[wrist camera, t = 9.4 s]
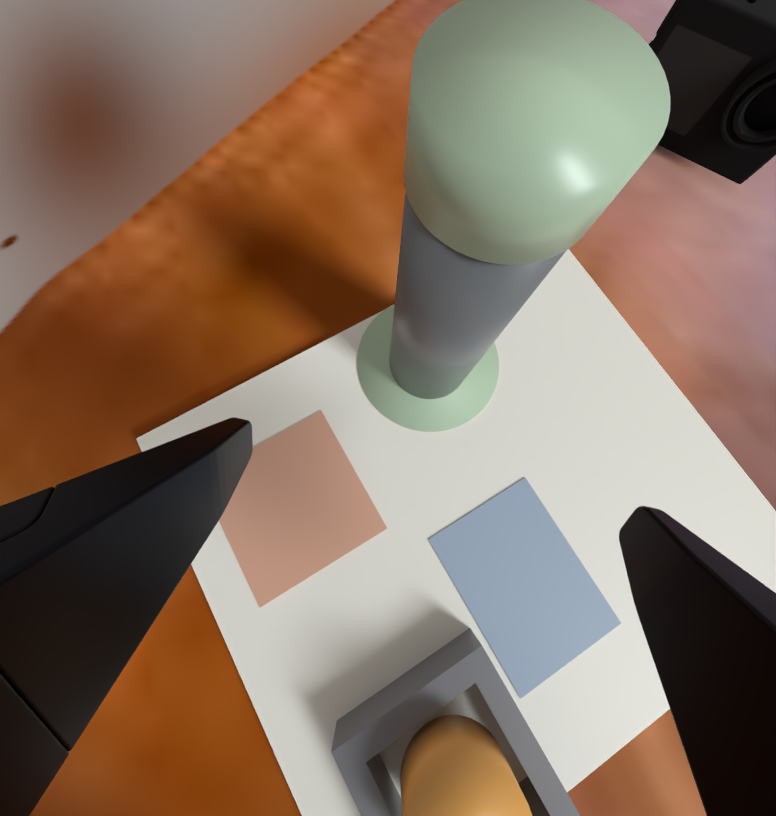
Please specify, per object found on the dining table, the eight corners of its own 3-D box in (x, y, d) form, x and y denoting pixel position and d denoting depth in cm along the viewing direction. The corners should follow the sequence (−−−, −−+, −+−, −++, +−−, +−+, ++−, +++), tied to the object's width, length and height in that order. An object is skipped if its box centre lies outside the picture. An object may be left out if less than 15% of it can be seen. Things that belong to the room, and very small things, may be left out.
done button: (437, 874, 14) (451, 958, 11) (379, 757, 14) (380, 810, 12) (530, 800, 14) (562, 864, 12) (469, 691, 15) (487, 730, 13)
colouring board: (364, 939, 15) (364, 960, 14) (143, 440, 19) (134, 438, 18) (814, 575, 19) (831, 579, 18) (544, 231, 23) (549, 223, 22)
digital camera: (596, 130, 25) (678, -4, 18) (626, 82, 26) (712, -61, 20) (734, 198, 24) (874, 83, 17) (758, 145, 25) (899, 17, 19)
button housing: (421, 896, 15) (427, 959, 13) (336, 720, 16) (331, 752, 14) (560, 784, 16) (586, 826, 14) (470, 627, 17) (482, 645, 15)
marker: (445, 416, 19) (612, 234, 6) (372, 374, 20) (362, 111, 6) (483, 347, 20) (704, 51, 7) (412, 309, 21) (483, -44, 7)
